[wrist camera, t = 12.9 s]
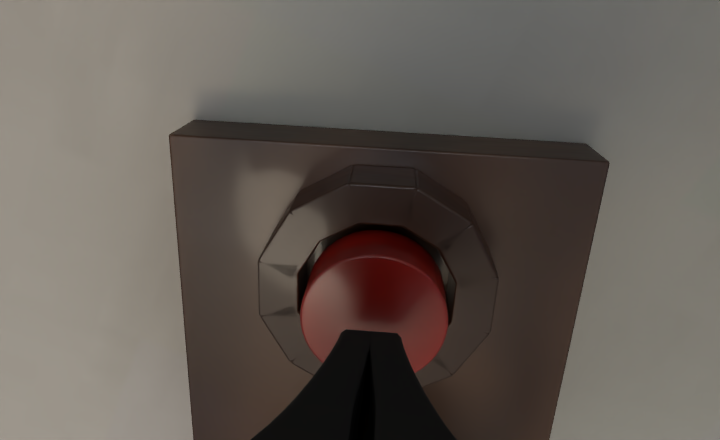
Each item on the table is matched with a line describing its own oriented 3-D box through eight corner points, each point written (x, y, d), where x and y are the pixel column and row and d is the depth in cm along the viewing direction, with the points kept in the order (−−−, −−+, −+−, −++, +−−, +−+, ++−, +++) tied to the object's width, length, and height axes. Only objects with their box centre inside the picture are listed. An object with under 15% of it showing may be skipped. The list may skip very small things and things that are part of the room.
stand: (587, 143, 18) (634, 180, 15) (507, 540, 25) (526, 635, 21) (193, 119, 19) (142, 149, 15) (218, 514, 26) (187, 602, 22)
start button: (450, 233, 16) (456, 260, 14) (436, 352, 17) (440, 389, 16) (309, 224, 16) (299, 250, 14) (307, 342, 18) (298, 378, 16)
